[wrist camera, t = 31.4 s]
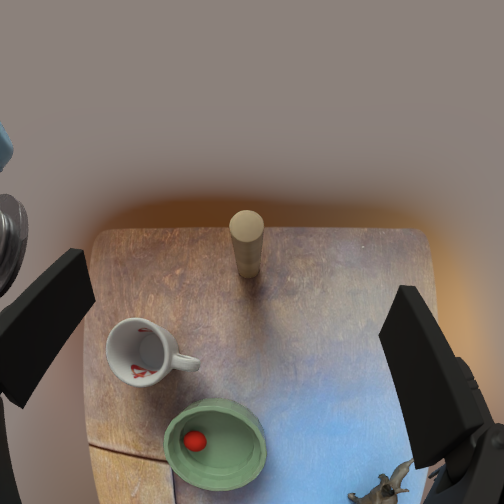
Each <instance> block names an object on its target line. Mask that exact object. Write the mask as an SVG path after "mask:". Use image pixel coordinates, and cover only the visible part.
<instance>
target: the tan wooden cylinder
mask: <svg viewBox="0 0 504 504" xmlns="http://www.w3.org/2000/svg"><path fill="white" fill-rule="evenodd" d="M229 227H230V233H231V238H232V243H233V248H234V253H235V258H236V263H237V268H238V272H239V274H240V275H241V276H243V277H245V278H253V277H255V276H256V275H257V274H258V272H259V270H260V261H261V252H262V243H263V233H264V222H263V220H262V218H261V217H260V216H259V215H258V214H257V213H255V212H253V211H249V210H248V211H247V210H245V211H241V212H238V213H237V214H235V215H234V216H233V218H232V219H231V221H230V226H229Z"/></svg>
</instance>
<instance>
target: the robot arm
mask: <svg viewBox="0 0 504 504" xmlns="http://www.w3.org/2000/svg"><path fill="white" fill-rule="evenodd" d="M12 155H13V145H12V143H11V141H10V139H9V136H8V134H7V133H6V131H5V129H4V127H3V125H2V124H1V122H0V172H2V171H3V168H4V166H5V165H6V164H7V163H8V162H9V160H10V159H11V157H12ZM8 237H9V223H8V219H7V216H6V215H5V213H4V212H3V211H1V210H0V264H1V262H2V260H3V257H4V254H5V251H6V248H7V243H8ZM95 302H96V300H95V297H94V293H93V289H92V285H91V281H90V277H89V273H88V269H87V265H86V260H85V255H84V251H83V250H81V249H73V248H70V249H69V250H68V251H67V252H65V254H63V255H62V256H61V257H60V258H59V259H58V260H56V261H55V263H53V264H52V265H51V266H50V267H49V268H48V269H47V270H46V271H44V273H42V274H41V275H40V276H39V277H38V278H37V279H36V280H35V281H34V282H33V283H32V284H31V285H30V286H29V287H28V288H27V289H26V290H25V291H24V292H23V293H22V294H21V295H20V296H19V297H18V298H17V299H16V300H15V301H14V302H13V303H12V304H11V305H9V306H7V307H6V308H4V309H3V310H2V311H1V313H0V394H1V393H2V392H3V393H4V394H5V396H6V397H7V398H8V399H9V401H10V402H12V403H14V404H15V405H17V406H18V407H21V408H22V409H23V408H24V406H25V405H26V403H27V401H28V400H29V398H30V396H31V395H32V393H33V391H34V389H35V388H36V387H37V385H38V383H39V382H40V380H41V378H42V377H43V375H44V374H45V372H46V371H47V369H48V368H49V366H50V365H51V363H52V362H53V360H54V358H55V357H56V356H57V354H58V353H59V351H60V350H61V348H62V347H63V345H64V344H65V342H66V341H67V339H68V338H69V337H70V335H71V334H72V333H73V331H74V330H75V328H76V327H77V325H78V324H79V323H80V322H81V320H82V319H83V317H84V316H85V315H86V313H87V312H88V311H89V309H90V308H91V307H92V305H93V304H94V303H95ZM378 336H379V338H380V341H381V344H382V347H383V350H384V353H385V356H386V359H387V362H388V366H389V369H390V372H391V375H392V378H393V382H394V385H395V388H396V392H397V395H398V399H399V402H400V406H401V410H402V413H403V417H404V421H405V425H406V429H407V433H408V437H409V441H410V446H411V450H412V455H413V459H414V464H415V469H416V470H417V469H421V468H425V467H429V466H432V465H435V464H436V463H437V462H438V461H440V460H441V459H443V458H444V459H445V464H444V465H443V466H441V467H440V468H438V469H437V470H435V471H434V472H432V473H431V475H430V476H429V477H428V478H430V479H431V478H432V477H434V476H435V475H437V474H438V475H437V477H436V478H435V479H434V481H435V482H434V484H433V486H432V488H431V490H430V491H429V493H428V495H427V497H426V499H425V501H424V503H423V504H504V425H503V424H500V423H496V424H495V423H494V421H493V419H492V417H491V414H490V412H489V409H488V407H487V404H486V402H485V400H484V397H483V395H482V393H481V391H480V389H478V387H479V386H478V384H477V382H476V380H474V376H473V374H472V372H471V370H470V368H469V366H468V365H467V364H466V363H465V362H464V361H463V360H462V359H461V358H460V357H455V355H454V353H453V351H452V349H451V348H450V346H449V344H448V342H447V340H446V338H445V336H444V334H443V333H442V331H441V329H440V327H439V325H438V324H437V322H436V320H435V318H434V317H433V315H432V313H431V311H430V310H429V308H428V306H427V305H426V303H425V301H424V300H423V298H422V296H421V295H420V293H419V292H418V290H417V288H416V287H415V286H406V285H400V286H399V289H398V291H397V294H396V296H395V299H394V301H393V304H392V306H391V308H390V311H389V313H388V315H387V318H386V320H385V322H384V324H383V327H382V329H381V331H380V333H379V335H378ZM0 504H22V503H21V499H20V496H19V493H18V489H17V485H16V481H15V478H14V473H13V469H12V464H11V459H10V454H9V448H8V443H7V435H6V427H5V418H4V407H3V400H2V398H1V397H0Z"/></svg>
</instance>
